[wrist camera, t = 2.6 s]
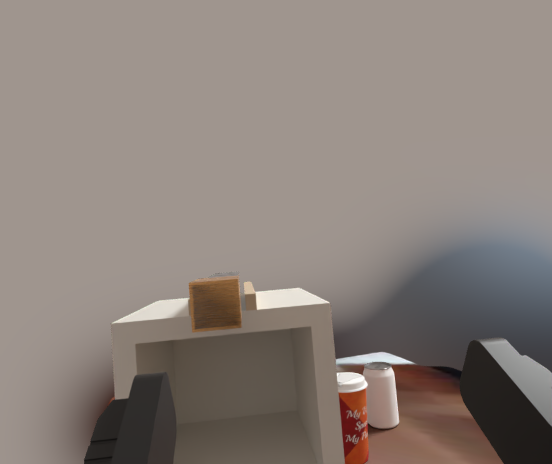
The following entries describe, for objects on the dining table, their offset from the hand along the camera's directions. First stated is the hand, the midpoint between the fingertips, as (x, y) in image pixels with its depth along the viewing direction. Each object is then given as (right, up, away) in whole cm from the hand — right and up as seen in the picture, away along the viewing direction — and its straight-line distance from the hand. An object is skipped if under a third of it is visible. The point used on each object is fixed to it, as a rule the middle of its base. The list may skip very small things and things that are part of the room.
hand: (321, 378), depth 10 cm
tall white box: (-4, -36, +34) cm, 50 cm away
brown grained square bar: (-6, -4, +29) cm, 30 cm away
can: (+21, -37, +73) cm, 85 cm away
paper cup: (+13, -37, +60) cm, 72 cm away
